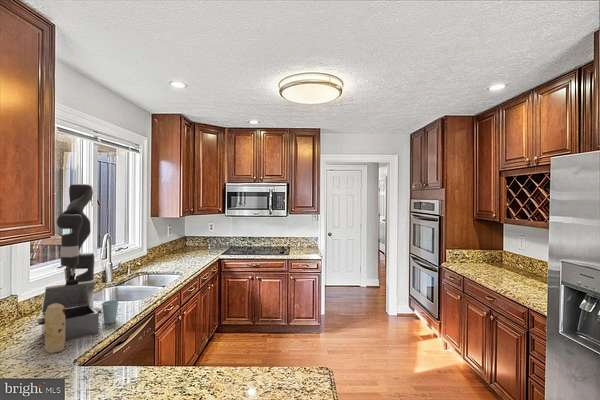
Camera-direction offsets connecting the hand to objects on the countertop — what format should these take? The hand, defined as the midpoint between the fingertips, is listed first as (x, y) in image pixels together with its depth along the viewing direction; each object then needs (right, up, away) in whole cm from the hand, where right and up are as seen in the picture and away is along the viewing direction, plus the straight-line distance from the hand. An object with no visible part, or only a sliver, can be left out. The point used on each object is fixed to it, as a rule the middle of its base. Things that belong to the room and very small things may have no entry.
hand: (69, 290), depth 173 cm
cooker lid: (0, -2, 0) cm, 3 cm away
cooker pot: (+1, -21, -2) cm, 21 cm away
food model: (+7, -21, -21) cm, 31 cm away
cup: (+12, -21, +15) cm, 28 cm away
